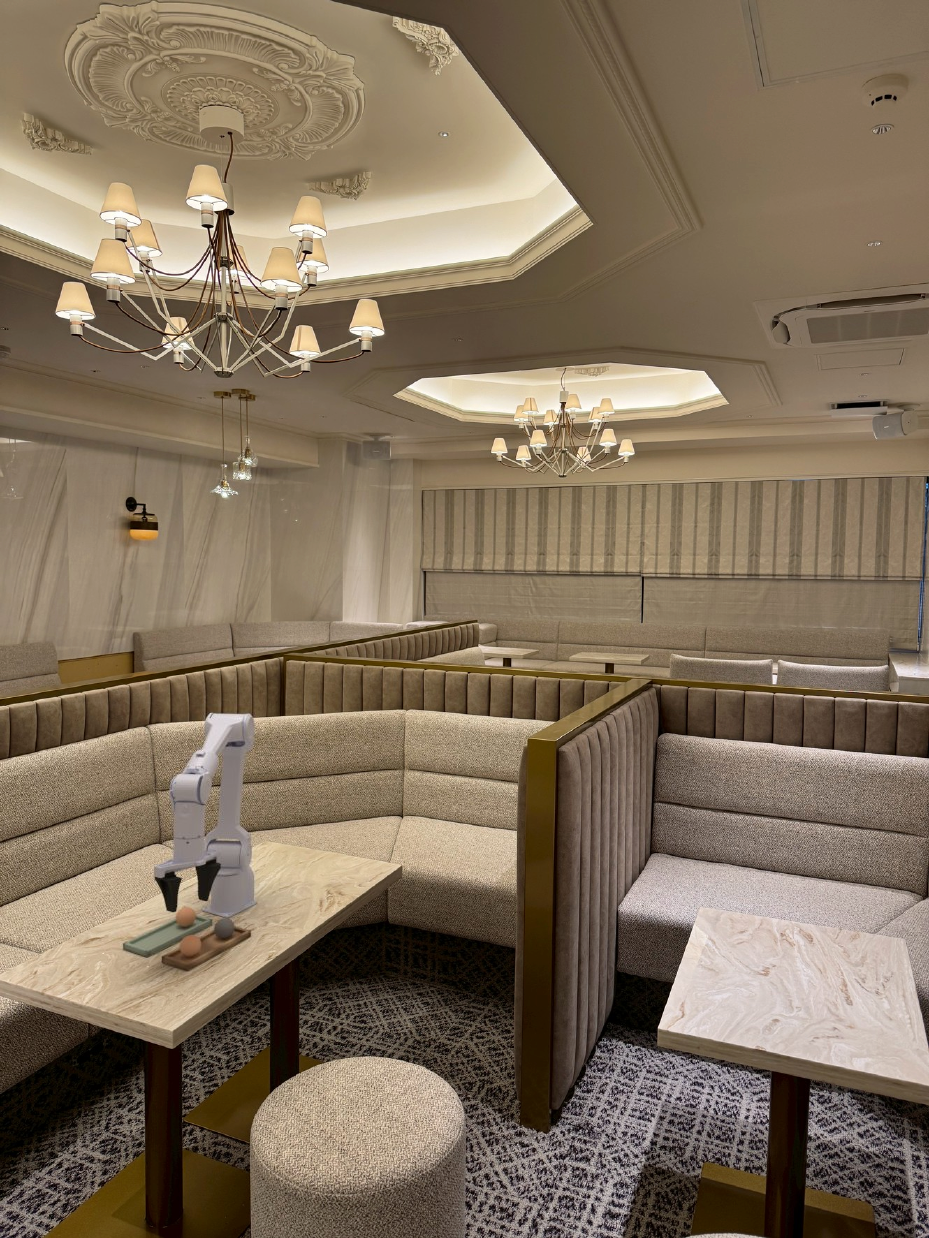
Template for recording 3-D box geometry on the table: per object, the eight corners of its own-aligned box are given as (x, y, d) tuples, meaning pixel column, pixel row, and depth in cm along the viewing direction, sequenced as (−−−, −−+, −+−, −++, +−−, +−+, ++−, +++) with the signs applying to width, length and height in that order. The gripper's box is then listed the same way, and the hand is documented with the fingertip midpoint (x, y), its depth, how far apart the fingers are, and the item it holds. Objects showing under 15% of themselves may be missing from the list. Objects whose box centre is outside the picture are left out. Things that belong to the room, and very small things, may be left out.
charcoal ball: (224, 931, 169) (224, 913, 169) (238, 936, 167) (238, 917, 167) (209, 939, 166) (209, 920, 165) (224, 943, 164) (224, 924, 163)
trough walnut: (226, 928, 172) (226, 923, 172) (250, 936, 168) (250, 930, 168) (161, 962, 157) (161, 956, 157) (187, 971, 153) (187, 965, 153)
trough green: (188, 917, 177) (188, 912, 177) (212, 924, 173) (212, 919, 173) (123, 949, 162) (122, 943, 162) (147, 957, 159) (147, 951, 158)
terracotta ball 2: (191, 949, 161) (190, 929, 161) (205, 953, 159) (205, 934, 159) (175, 957, 158) (175, 937, 157) (190, 962, 156) (189, 942, 156)
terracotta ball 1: (186, 920, 174) (186, 902, 174) (200, 924, 172) (199, 906, 172) (171, 927, 171) (171, 908, 171) (185, 931, 169) (185, 912, 169)
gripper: (171, 846, 150) (170, 920, 150) (232, 831, 162) (230, 899, 162) (147, 841, 154) (145, 912, 153) (208, 826, 166) (206, 892, 166)
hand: (187, 905), depth 158 cm, fingers open, 7 cm apart
